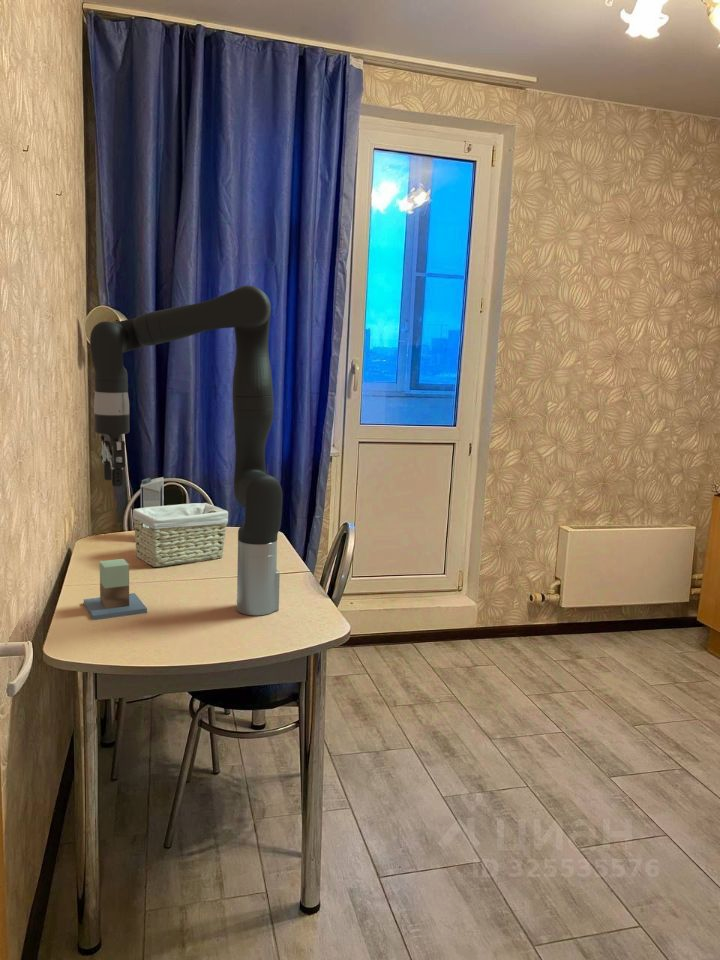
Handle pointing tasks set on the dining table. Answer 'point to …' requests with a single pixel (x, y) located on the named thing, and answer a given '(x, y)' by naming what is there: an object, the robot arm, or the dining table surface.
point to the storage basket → (179, 533)
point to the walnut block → (114, 596)
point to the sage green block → (114, 573)
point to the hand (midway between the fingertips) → (113, 482)
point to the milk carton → (152, 492)
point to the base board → (100, 612)
